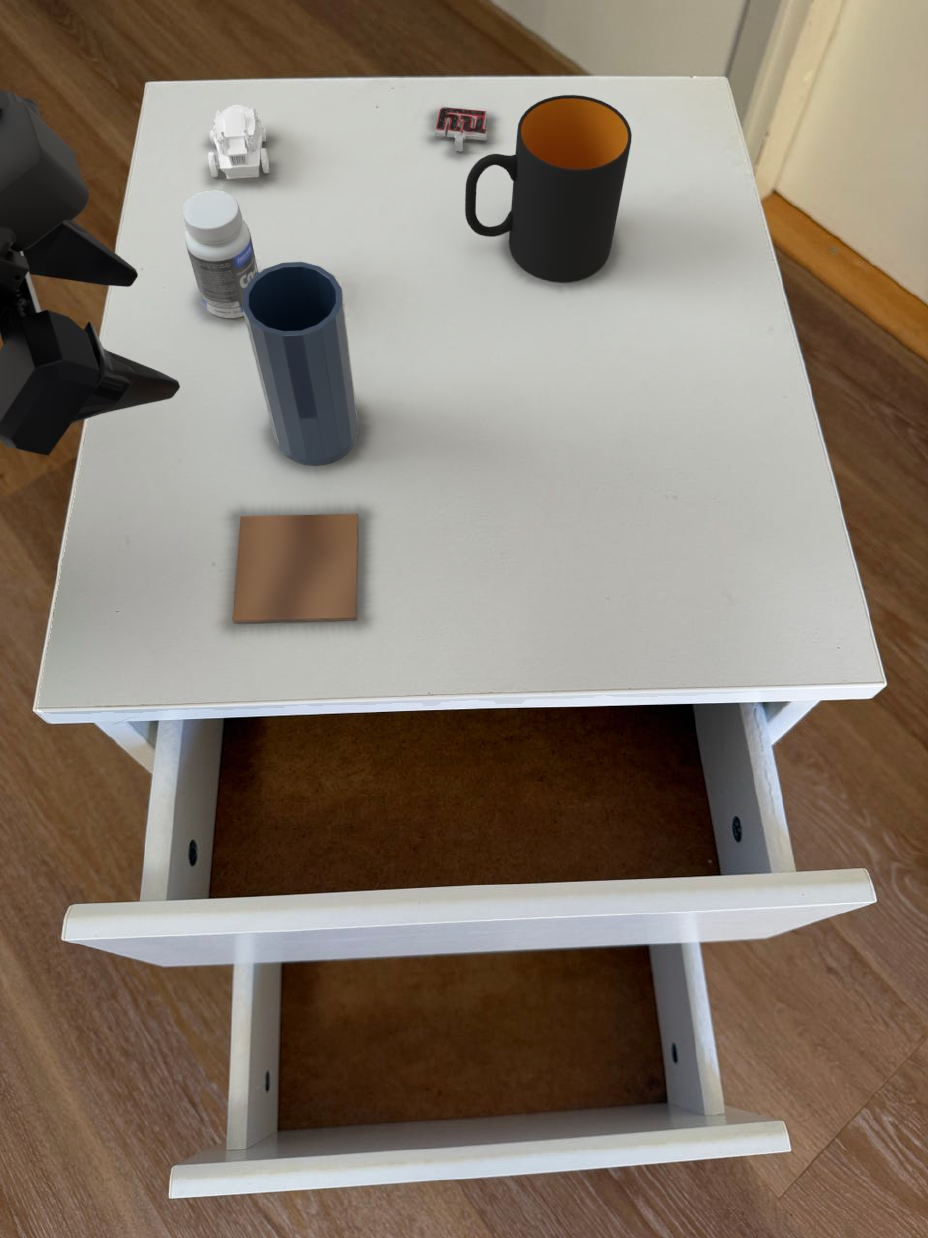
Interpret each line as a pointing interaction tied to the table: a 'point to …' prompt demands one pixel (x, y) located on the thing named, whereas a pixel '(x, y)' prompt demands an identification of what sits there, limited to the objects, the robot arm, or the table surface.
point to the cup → (303, 360)
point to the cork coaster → (296, 568)
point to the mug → (561, 187)
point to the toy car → (238, 143)
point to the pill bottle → (219, 251)
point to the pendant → (464, 119)
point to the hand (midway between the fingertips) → (154, 332)
